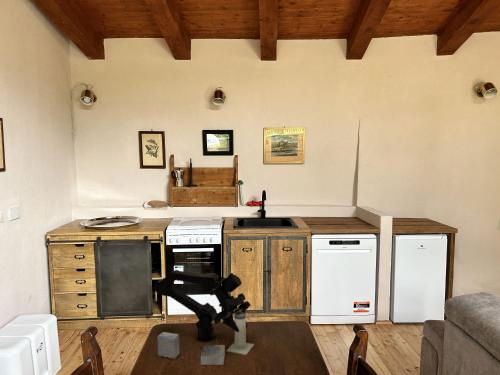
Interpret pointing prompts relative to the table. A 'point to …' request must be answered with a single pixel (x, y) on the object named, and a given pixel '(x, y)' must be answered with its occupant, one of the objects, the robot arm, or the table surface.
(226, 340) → the table surface
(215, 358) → the housing
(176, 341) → the medicine box
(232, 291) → the robot arm
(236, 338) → the plug
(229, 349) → the mat
